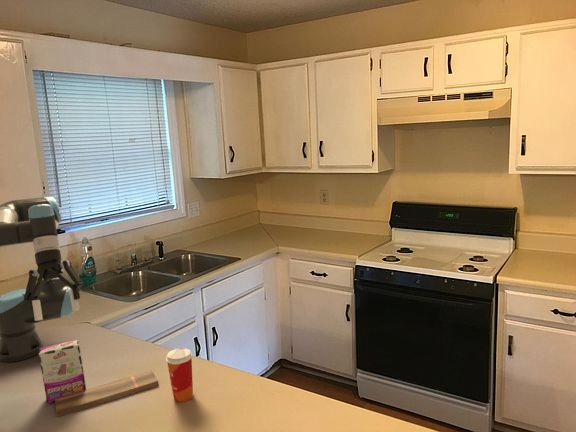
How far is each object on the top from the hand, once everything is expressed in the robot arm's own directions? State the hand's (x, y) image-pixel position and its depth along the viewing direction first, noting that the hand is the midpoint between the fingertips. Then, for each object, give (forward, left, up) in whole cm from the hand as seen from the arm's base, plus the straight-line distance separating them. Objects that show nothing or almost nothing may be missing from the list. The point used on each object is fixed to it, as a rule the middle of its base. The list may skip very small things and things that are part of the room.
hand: (57, 315), depth 150 cm
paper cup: (+32, +29, -23) cm, 49 cm away
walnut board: (+17, +10, -22) cm, 30 cm away
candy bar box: (+10, -1, -23) cm, 25 cm away
